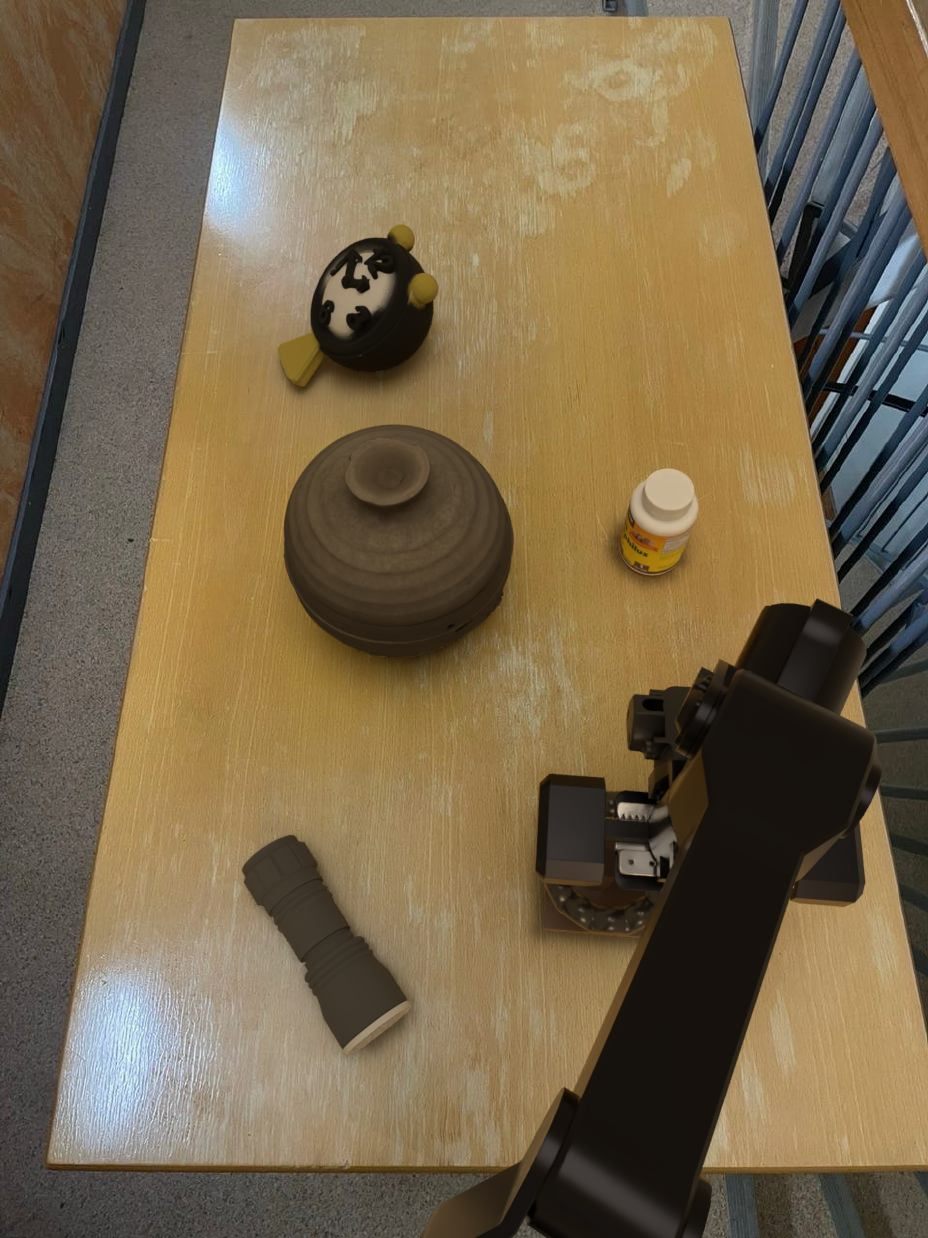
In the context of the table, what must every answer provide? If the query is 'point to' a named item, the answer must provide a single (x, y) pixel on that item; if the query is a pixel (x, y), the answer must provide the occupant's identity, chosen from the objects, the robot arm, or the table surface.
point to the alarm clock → (366, 309)
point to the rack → (592, 899)
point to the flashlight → (325, 944)
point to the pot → (397, 541)
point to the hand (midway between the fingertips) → (669, 864)
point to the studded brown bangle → (602, 916)
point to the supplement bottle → (658, 522)
